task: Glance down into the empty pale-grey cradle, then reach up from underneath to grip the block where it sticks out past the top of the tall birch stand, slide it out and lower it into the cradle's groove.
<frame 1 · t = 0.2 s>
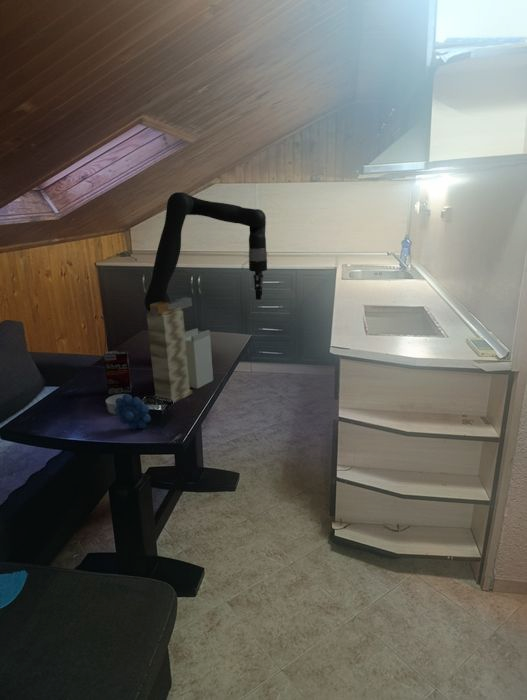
hand: (259, 297, 201), 29 cm above the table, tool pointing down, fingers open, 8 cm apart
ramekin: (120, 410, 166), on the table
grapes: (133, 430, 150), on the table
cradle: (198, 382, 188), on the table
supplement box: (120, 391, 182), on the table
stand: (173, 396, 176), on the table
block: (172, 310, 169), point 32 cm above the table, touching stand
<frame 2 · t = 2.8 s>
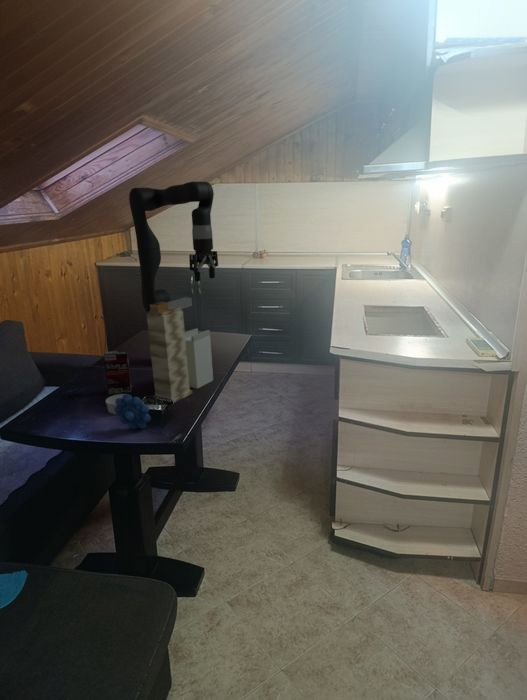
hand: (205, 279, 183), 40 cm above the table, tool pointing down, fingers open, 8 cm apart
nothing on the table moved.
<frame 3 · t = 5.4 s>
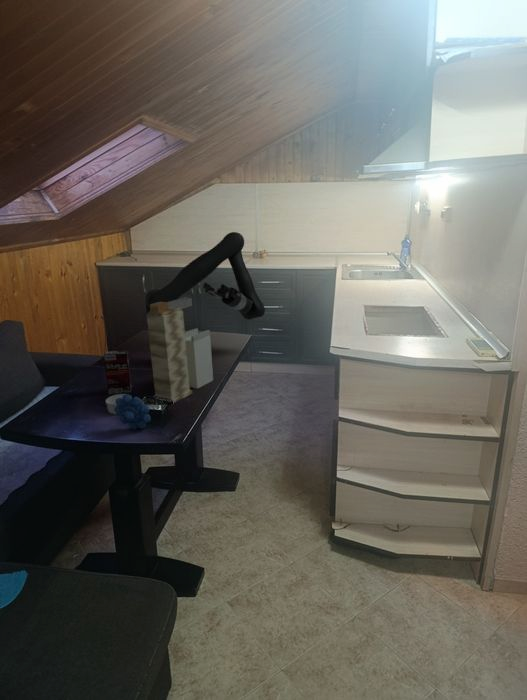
hand: (212, 285, 187), 37 cm above the table, tool pointing upward, fingers open, 8 cm apart
nothing on the table moved.
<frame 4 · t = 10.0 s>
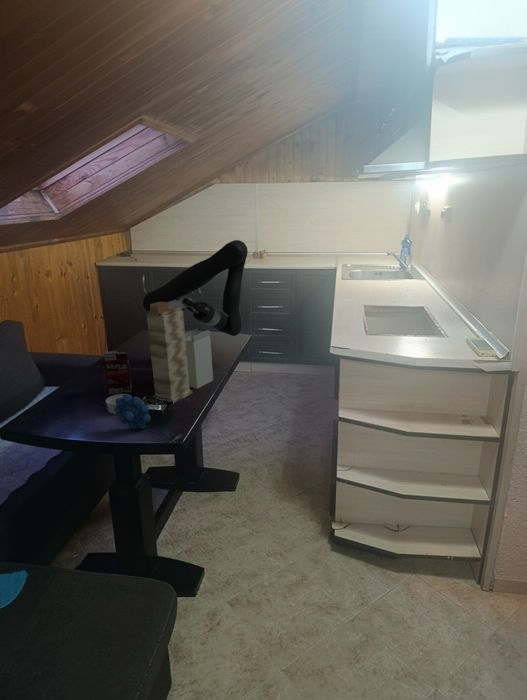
hand: (180, 300, 172), 35 cm above the table, tool pointing upward, fingers closed on block, 3 cm apart
block: (172, 310, 169), point 32 cm above the table, touching gripper, stand
everything else where it was.
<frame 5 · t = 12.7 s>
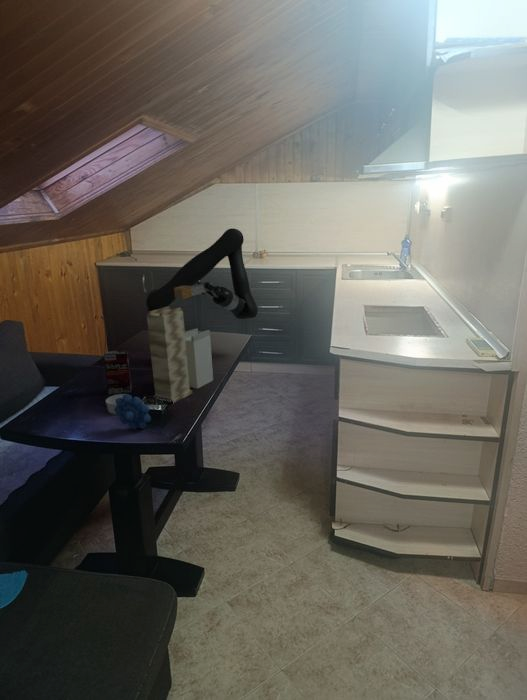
hand: (201, 284, 181), 39 cm above the table, tool pointing upward, fingers closed on block, 3 cm apart
block: (194, 293, 178), point 36 cm above the table, touching gripper
everything else where it was.
when the fingers open (25 cm above the table, at t = 15.5 s): block drops 3 cm, resting on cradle.
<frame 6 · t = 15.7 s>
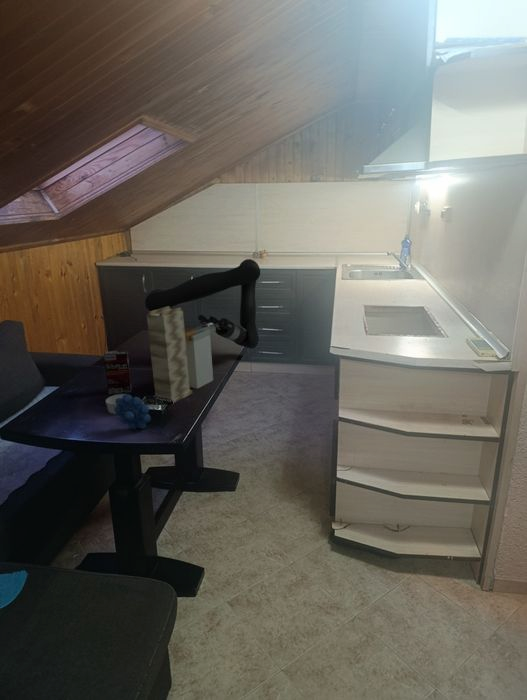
hand: (204, 317, 185), 25 cm above the table, tool pointing upward, fingers open, 4 cm apart
block: (198, 335, 184), point 19 cm above the table, touching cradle
everything else where it was.
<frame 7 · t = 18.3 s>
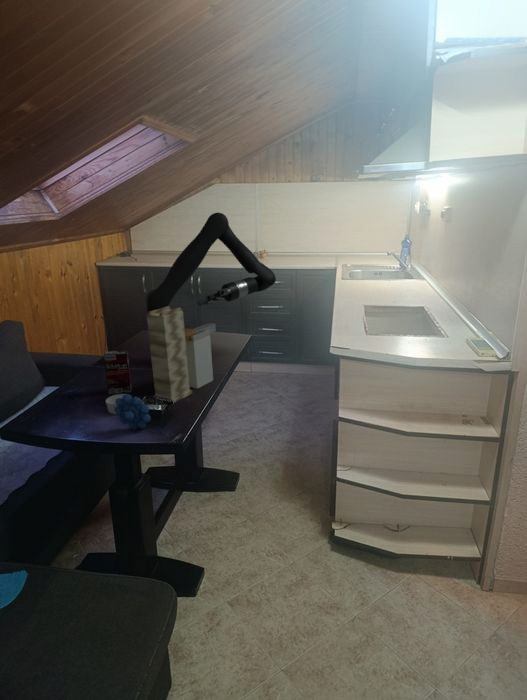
hand: (202, 301, 190), 31 cm above the table, tool horizontal, fingers open, 8 cm apart
nothing on the table moved.
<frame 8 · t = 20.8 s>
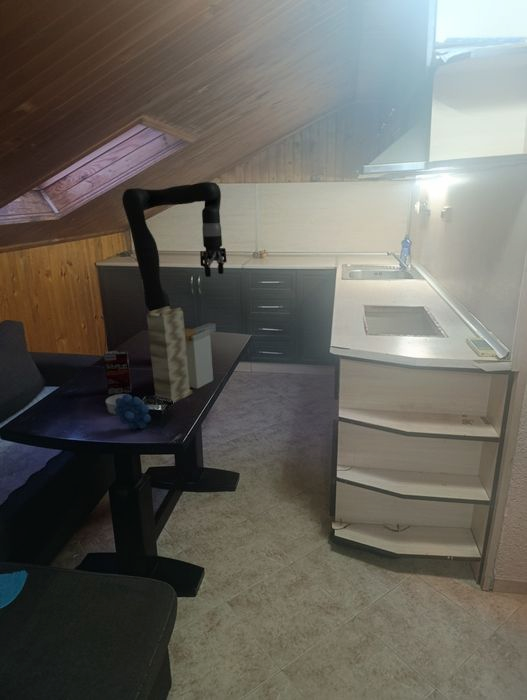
hand: (214, 275, 193), 40 cm above the table, tool pointing down, fingers open, 8 cm apart
nothing on the table moved.
at the end: block inside the target area on the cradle (0.1 cm from its centre), point 19.0 cm above the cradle's base; block touching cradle; the gripper is holding nothing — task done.
